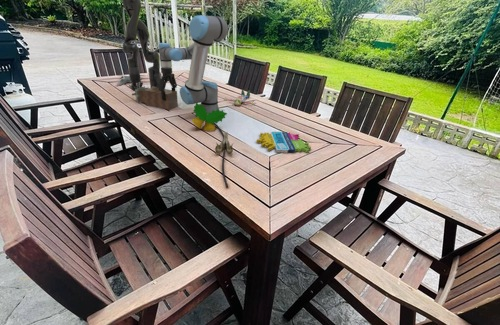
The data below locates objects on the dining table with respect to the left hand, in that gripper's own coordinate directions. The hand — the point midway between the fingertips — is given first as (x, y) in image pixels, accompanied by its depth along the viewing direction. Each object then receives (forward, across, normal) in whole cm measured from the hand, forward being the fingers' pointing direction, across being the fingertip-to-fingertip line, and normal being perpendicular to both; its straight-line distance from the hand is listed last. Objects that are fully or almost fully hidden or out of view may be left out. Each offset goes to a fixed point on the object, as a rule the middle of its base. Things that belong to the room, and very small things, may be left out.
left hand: (137, 95), depth 203 cm
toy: (+4, -42, +70) cm, 82 cm away
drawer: (+3, 0, +10) cm, 11 cm away
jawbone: (+5, +48, +97) cm, 108 cm away
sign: (+5, +23, +122) cm, 124 cm away
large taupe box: (+4, 0, +22) cm, 22 cm away
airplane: (+3, -46, -49) cm, 67 cm away
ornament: (+5, +24, +75) cm, 79 cm away
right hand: (-3, +1, +29) cm, 29 cm away
